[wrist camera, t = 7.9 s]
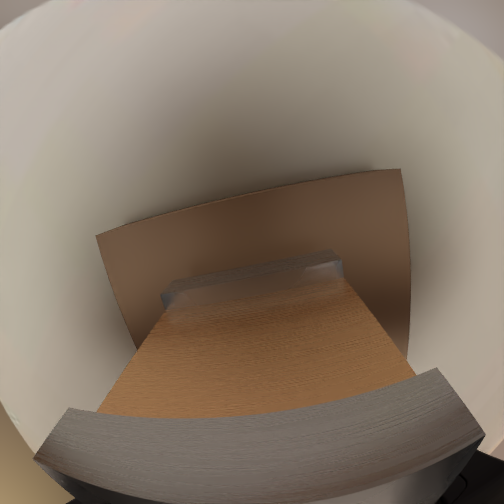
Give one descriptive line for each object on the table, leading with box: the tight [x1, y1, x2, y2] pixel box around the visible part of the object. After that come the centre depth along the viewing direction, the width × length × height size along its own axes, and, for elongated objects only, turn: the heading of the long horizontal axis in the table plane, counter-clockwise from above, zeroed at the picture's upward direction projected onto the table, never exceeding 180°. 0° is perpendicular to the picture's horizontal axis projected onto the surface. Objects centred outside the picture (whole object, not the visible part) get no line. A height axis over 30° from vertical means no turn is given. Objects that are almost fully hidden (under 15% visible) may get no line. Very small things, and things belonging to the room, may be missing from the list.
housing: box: [33, 249, 486, 504], centre depth 6 cm, size 5×8×7 cm, turn 13°
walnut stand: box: [96, 169, 411, 360], centre depth 12 cm, size 12×12×2 cm
